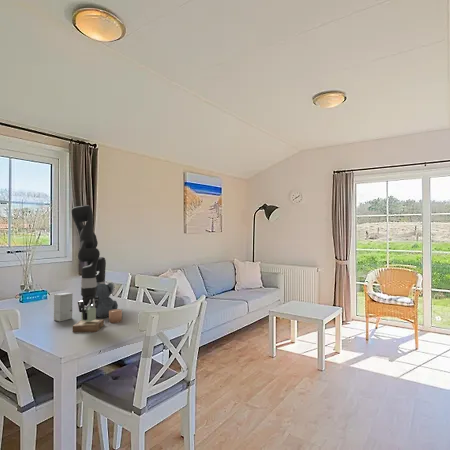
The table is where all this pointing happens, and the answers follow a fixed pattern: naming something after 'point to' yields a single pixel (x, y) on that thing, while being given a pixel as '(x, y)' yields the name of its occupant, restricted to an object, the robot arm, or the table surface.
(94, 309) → the sage block
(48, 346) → the table surface
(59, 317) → the skincare box
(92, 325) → the walnut base
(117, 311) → the tan rounded block
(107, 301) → the koala plush
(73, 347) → the table surface
